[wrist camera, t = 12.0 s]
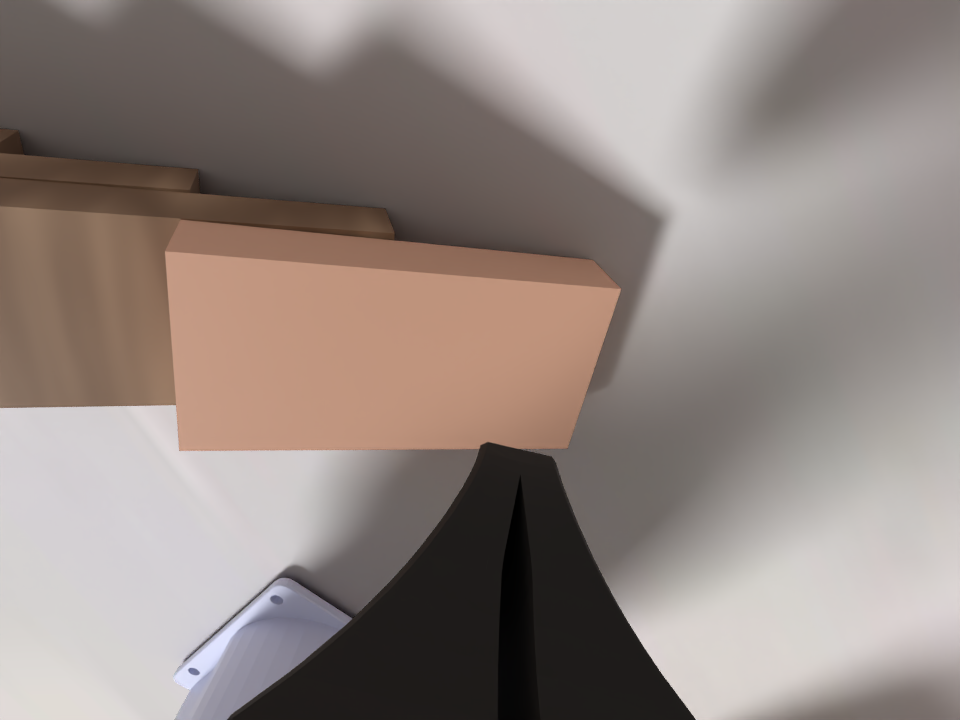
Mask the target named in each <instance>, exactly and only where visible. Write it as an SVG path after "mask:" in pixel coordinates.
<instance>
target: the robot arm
mask: <svg viewBox="0 0 960 720" xmlns="http://www.w3.org/2000/svg"><path fill="white" fill-rule="evenodd" d="M173 677H174V680H175V682H176V683H178V684H179V685H181V686H183V687H184V688H186V689H188V690H190V692H189V694H188V695H187V697H186V699H185V701H184V703H183V704H182V706H181V708H180V710H179V712H178V714H177V715H176V717H175V719H174V720H696V719H695V718H694V716H693V715H692V714H691V712H690V711H689V710H688V708H687V707H686V706H685V704H684V703H683V702H682V700H681V699H680V698H679V696H678V695H677V694H676V692H675V691H674V690H673V688H672V687H671V686H670V684H669V683H668V682H667V680H666V679H665V678H664V676H663V675H662V674H661V672H660V671H659V669H658V668H657V666H656V665H655V663H654V662H653V660H652V659H651V657H650V656H649V654H648V653H647V651H646V650H645V648H644V647H643V645H642V644H641V642H640V641H639V639H638V637H637V636H636V634H635V633H634V631H633V629H632V628H631V626H630V624H629V623H628V621H627V620H626V618H625V616H624V614H623V613H622V611H621V609H620V608H619V606H618V604H617V602H616V600H615V599H614V597H613V595H612V593H611V591H610V589H609V587H608V586H607V584H606V582H605V580H604V578H603V576H602V574H601V572H600V570H599V568H598V566H597V564H596V562H595V560H594V558H593V556H592V554H591V552H590V549H589V547H588V545H587V543H586V541H585V538H584V536H583V534H582V532H581V529H580V527H579V525H578V523H577V520H576V518H575V515H574V513H573V510H572V508H571V505H570V503H569V500H568V497H567V495H566V492H565V489H564V487H563V484H562V481H561V478H560V475H559V472H558V468H557V465H556V463H555V461H554V459H553V458H552V457H551V456H546V455H542V454H538V453H533V452H529V451H525V450H521V449H516V448H512V447H508V446H504V445H499V444H495V443H491V442H486V443H484V444H482V445H480V449H479V453H478V457H477V459H476V462H475V464H474V467H473V469H472V471H471V473H470V475H469V477H468V478H467V480H466V482H465V484H464V486H463V487H462V489H461V491H460V492H459V494H458V495H457V497H456V498H455V500H454V502H453V503H452V505H451V506H450V508H449V509H448V511H447V512H446V514H445V515H444V517H443V518H442V519H441V521H440V522H439V523H438V525H437V526H436V527H435V529H434V530H433V531H432V533H431V534H430V535H429V537H428V538H427V539H426V541H425V542H424V543H423V545H422V546H421V547H420V548H419V549H418V551H417V552H416V553H415V554H414V555H413V557H412V558H411V559H410V560H409V561H408V562H407V564H406V565H405V566H404V567H403V568H402V569H401V570H400V571H399V572H398V574H397V575H396V576H395V577H394V578H393V579H392V580H391V581H390V582H389V583H388V584H387V585H386V586H385V587H384V588H383V589H382V590H381V591H380V592H379V593H378V594H377V595H376V596H375V597H374V598H373V599H372V600H371V601H370V602H369V603H368V604H367V605H366V606H365V607H364V608H363V609H362V610H361V611H360V612H359V613H358V614H357V615H356V616H355V617H354V618H353V619H352V618H351V617H349V616H348V615H346V614H345V613H343V612H342V611H340V610H338V609H337V608H335V607H334V606H332V605H331V604H329V603H328V602H326V601H325V600H323V599H321V598H320V597H318V596H317V595H315V594H314V593H312V592H311V591H309V590H307V589H306V588H304V587H303V586H301V585H300V584H298V583H297V582H295V581H294V580H291V579H289V578H279V579H277V580H276V581H275V582H274V583H273V584H271V585H270V586H269V587H268V588H267V589H266V590H265V591H264V592H262V593H261V594H260V595H259V596H258V597H257V598H256V599H255V600H253V601H252V602H251V603H250V604H249V605H248V606H247V607H246V608H245V609H243V610H242V611H241V612H240V613H239V614H238V615H237V616H236V617H234V618H233V619H232V620H231V621H230V622H229V623H228V624H227V625H225V626H224V627H223V628H222V629H221V630H220V631H219V632H218V633H216V634H215V635H214V636H213V637H212V638H211V639H210V640H209V641H208V642H206V643H205V644H204V645H203V646H202V647H201V648H200V649H199V650H197V651H196V652H195V653H194V654H193V655H192V656H191V657H190V658H188V659H187V660H186V661H185V662H184V663H183V664H182V665H181V666H179V667H178V669H177V670H176V672H175V674H174V676H173Z"/></svg>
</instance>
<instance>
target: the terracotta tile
mask: <svg viewBox="0 0 960 720" xmlns="http://www.w3.org/2000/svg"><path fill="white" fill-rule="evenodd" d="M165 259H166V273H167V287H168V301H169V314H170V328H171V342H172V355H173V369H174V383H175V396H176V410H177V424H178V438H179V451H232V450H407V449H480V445H482V444H484V443H486V442H491V443H495V444H499V445H504V446H508V447H512V448H516V449H568V446H569V443H570V440H571V437H572V434H573V431H574V428H575V425H576V422H577V419H578V416H579V413H580V410H581V407H582V404H583V401H584V398H585V395H586V392H587V389H588V386H589V383H590V380H591V378H592V375H593V372H594V369H595V366H596V363H597V360H598V357H599V354H600V351H601V348H602V345H603V342H604V339H605V336H606V333H607V330H608V327H609V324H610V321H611V318H612V315H613V312H614V309H615V306H616V303H617V300H618V297H619V294H620V291H621V288H620V287H619V286H618V285H617V284H616V283H615V282H614V281H613V280H612V279H611V278H610V277H609V276H608V275H607V274H606V273H605V272H604V271H603V270H602V269H601V268H600V267H599V266H598V265H597V264H596V263H595V262H594V261H593V260H589V259H579V258H569V257H559V256H548V255H538V254H528V253H518V252H507V251H497V250H487V249H477V248H466V247H456V246H446V245H436V244H425V243H415V242H405V241H395V240H384V239H374V238H364V237H354V236H343V235H333V234H323V233H313V232H302V231H292V230H282V229H272V228H261V227H251V226H241V225H231V224H220V223H210V222H200V221H190V220H180V222H179V224H178V226H177V228H176V230H175V232H174V234H173V236H172V238H171V240H170V242H169V244H168V246H167V248H166V250H165Z"/></svg>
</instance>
